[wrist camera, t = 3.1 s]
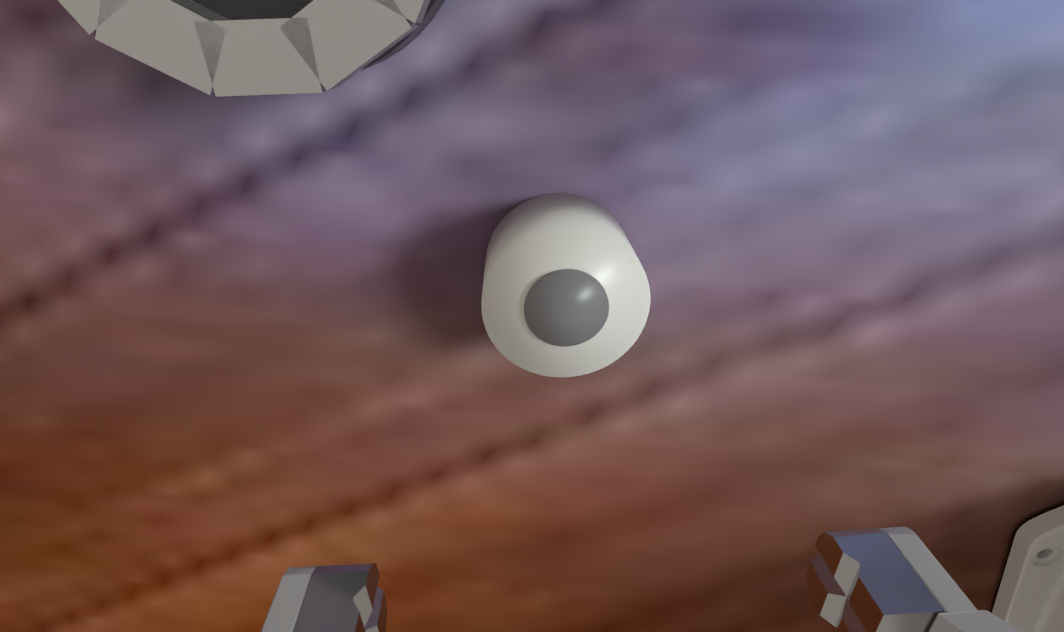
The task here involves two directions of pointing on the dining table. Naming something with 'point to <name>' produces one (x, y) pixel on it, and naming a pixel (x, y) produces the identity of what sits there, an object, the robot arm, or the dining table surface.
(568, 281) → the cap
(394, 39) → the lens barrel
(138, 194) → the dining table surface
